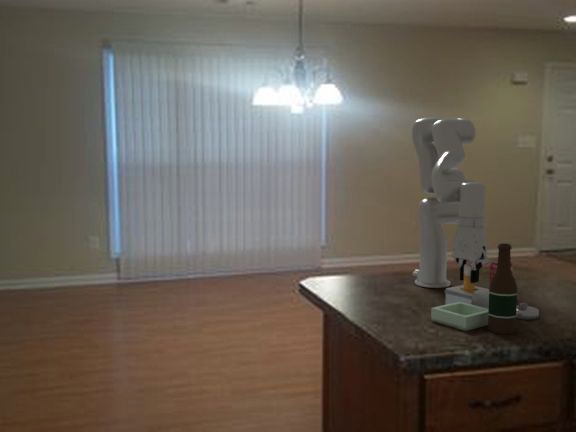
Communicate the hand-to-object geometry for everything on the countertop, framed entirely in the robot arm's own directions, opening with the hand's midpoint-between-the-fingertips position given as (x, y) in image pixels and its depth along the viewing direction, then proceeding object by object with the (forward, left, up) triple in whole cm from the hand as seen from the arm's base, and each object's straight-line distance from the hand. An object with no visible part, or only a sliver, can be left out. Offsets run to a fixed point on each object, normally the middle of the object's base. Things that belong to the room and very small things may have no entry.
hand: (469, 280), depth 200 cm
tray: (+9, -14, -9) cm, 19 cm away
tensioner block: (0, 0, -9) cm, 9 cm away
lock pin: (0, 0, -8) cm, 8 cm away
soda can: (0, +16, -9) cm, 18 cm away
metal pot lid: (+15, +6, -9) cm, 19 cm away
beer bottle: (+21, -12, -9) cm, 26 cm away
